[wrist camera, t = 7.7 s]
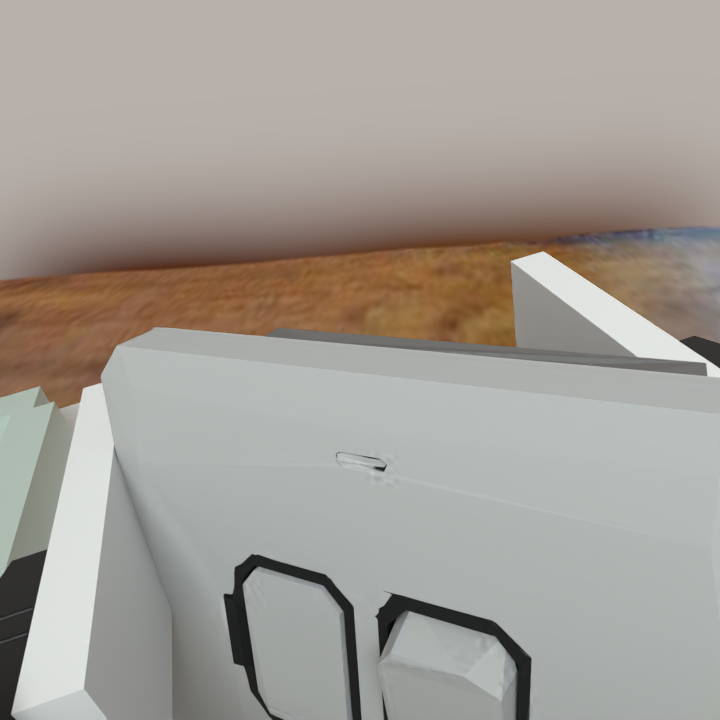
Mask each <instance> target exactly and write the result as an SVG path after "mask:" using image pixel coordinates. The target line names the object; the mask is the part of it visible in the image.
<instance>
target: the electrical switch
mask: <svg viewBox="0 0 720 720" xmlns="http://www.w3.org/2000/svg"><path fill="white" fill-rule="evenodd" d="M591 364H592V365H591ZM101 381H102V386H103V391H104V396H105V401H106V406H107V411H108V416H109V420H110V425H111V430H112V435H113V440H114V445H115V450H116V454H117V458H118V461H119V465H120V468H121V471H122V474H123V477H124V480H125V483H126V486H127V489H128V492H129V494H130V497H131V500H132V503H133V506H134V509H135V512H136V514H137V517H138V520H139V523H140V526H141V528H142V531H143V534H144V537H145V540H146V543H147V545H148V548H149V551H150V554H151V557H152V559H153V562H154V565H155V567H156V570H157V573H158V575H159V578H160V581H161V584H162V586H163V589H164V592H165V594H166V597H167V600H168V602H169V605H170V608H171V610H172V720H720V377H709V376H707V367H706V363H703V362H690V361H678V360H666V359H654V358H641V357H629V356H617V355H604V354H592V353H580V352H567V351H555V350H543V349H530V348H518V347H506V346H493V345H481V344H469V343H456V342H444V341H432V340H419V339H407V338H395V337H382V336H370V335H358V334H345V333H333V332H321V331H309V330H296V329H284V328H278V329H276V330H274V331H273V332H271V333H269V334H267V335H265V336H252V335H241V334H230V333H219V332H208V331H197V330H186V329H174V328H153V329H152V330H151V331H149V332H147V333H144V334H142V335H140V336H137V337H135V338H133V339H131V340H128V341H126V342H124V343H122V344H119V345H117V346H116V348H115V350H114V352H113V354H112V356H111V357H110V359H109V361H108V363H107V365H106V367H105V369H104V371H103V373H102V374H101Z"/></svg>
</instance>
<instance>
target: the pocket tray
mask: <svg viewBox="0 0 720 720" xmlns="http://www.w3.org/2000/svg"><path fill="white" fill-rule="evenodd" d="M79 406H80V403H77V404H74V405H70V406H67V407H64V408H60V409H58V407H57V405H56V403H55V401H54V402H51V403H50V402H49V400H48V398H47V397H46V395H45V393H44V391H43V390H42V388H41V386H39V387H35V388H32V389H29V390H25V391H22V392H18V393H15V394H12V395H8V396H5V397H2V398H0V577H1V576H2V574H3V573H4V572H5V570H6V569H7V567H8V566H9V564H10V563H11V562H12V561H13V560H16V559H19V558H22V557H25V556H28V555H31V554H34V553H37V552H40V551H43V550H46V549H48V546H49V541H50V537H51V532H52V528H53V523H54V519H55V514H56V510H57V505H58V501H59V496H60V491H61V487H62V482H63V478H64V473H65V469H66V464H67V460H68V455H69V451H70V446H71V442H72V437H73V433H74V428H75V424H76V419H77V415H78V410H79Z"/></svg>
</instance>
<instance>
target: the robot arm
mask: <svg viewBox="0 0 720 720" xmlns="http://www.w3.org/2000/svg"><path fill="white" fill-rule="evenodd" d="M511 271H512V287H513V303H514V319H515V334H516V347H518V348H530V349H543V350H555V351H567V352H580V353H592V354H604V355H617V356H629V357H641V358H654V359H666V360H678V361H690V362H703V363H706V367H707V376H709V377H720V344H719V343H716V342H713V341H710V340H706V339H703V338H700V337H697V336H692V337H689V338H686V339H683V340H680V341H678V340H676V339H675V338H673V337H672V336H670V335H669V334H667V333H666V332H664V331H663V330H661V329H660V328H658V327H657V326H655V325H654V324H652V323H651V322H649V321H648V320H646V319H645V318H643V317H642V316H640V315H639V314H637V313H636V312H634V311H633V310H631V309H630V308H628V307H627V306H625V305H624V304H622V303H621V302H619V301H618V300H616V299H615V298H613V297H612V296H610V295H609V294H607V293H606V292H604V291H603V290H601V289H599V288H598V287H596V286H595V285H593V284H592V283H590V282H589V281H587V280H586V279H584V278H583V277H581V276H580V275H578V274H577V273H575V272H574V271H572V270H571V269H569V268H568V267H566V266H565V265H563V264H562V263H560V262H559V261H557V260H556V259H554V258H553V257H551V256H550V255H548V254H547V253H545V252H544V251H543V252H540V253H537V254H533V255H530V256H527V257H523V258H520V259H517V260H513V261H511ZM591 365H592V364H591ZM0 720H172V610H171V608H170V605H169V602H168V600H167V597H166V594H165V592H164V589H163V586H162V584H161V581H160V578H159V575H158V573H157V570H156V567H155V565H154V562H153V559H152V557H151V554H150V551H149V548H148V545H147V543H146V540H145V537H144V534H143V531H142V528H141V526H140V523H139V520H138V517H137V514H136V512H135V509H134V506H133V503H132V500H131V497H130V494H129V492H128V489H127V486H126V483H125V480H124V477H123V474H122V471H121V468H120V465H119V461H118V458H117V454H116V450H115V445H114V440H113V435H112V430H111V425H110V420H109V416H108V411H107V406H106V401H105V396H104V391H103V386H102V383H100V384H96V385H93V386H90V387H86V388H83V392H82V397H81V401H80V406H79V410H78V415H77V419H76V424H75V428H74V433H73V437H72V442H71V446H70V451H69V455H68V460H67V464H66V469H65V473H64V478H63V482H62V487H61V491H60V496H59V501H58V505H57V510H56V514H55V519H54V523H53V528H52V532H51V537H50V541H49V546H48V549H46V550H43V551H40V552H37V553H34V554H31V555H28V556H25V557H22V558H19V559H16V560H13V561H12V562H11V563H10V564H9V566H8V567H7V569H6V570H5V572H4V573H3V574H2V576H1V577H0Z"/></svg>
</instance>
